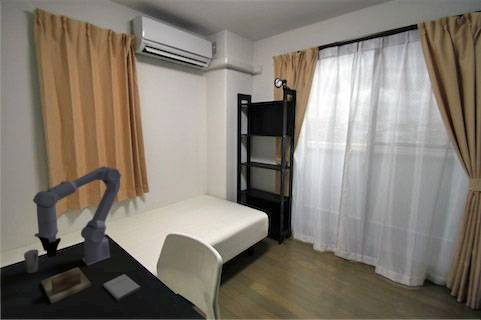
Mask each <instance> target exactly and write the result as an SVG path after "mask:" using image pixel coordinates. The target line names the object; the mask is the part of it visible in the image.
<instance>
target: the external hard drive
mask: <svg viewBox="0 0 481 320" xmlns="http://www.w3.org/2000/svg"><path fill="white" fill-rule="evenodd" d="M103 287H104V289H106V290H107V292H109V294H111V295H112V296H113V297H114V298H115V300H116V301H121V300H122V299H125V298H126V297H129V295H132V294H134V293H135V292H137V291H139V290H140V289H141V286H140V285H139V284H137V283H136V282H135V281H133V280H132V279H131V278H130V277H129V276H127V275H126V274H124V273H123V274H122V275H119V276H117V277H116V278H113V279H111V280H109V281H107V282H105V283H103Z"/></svg>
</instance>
